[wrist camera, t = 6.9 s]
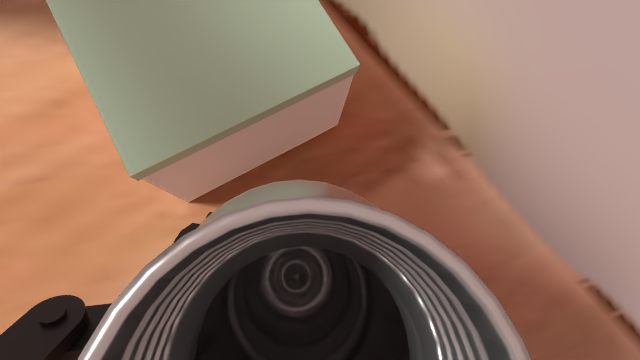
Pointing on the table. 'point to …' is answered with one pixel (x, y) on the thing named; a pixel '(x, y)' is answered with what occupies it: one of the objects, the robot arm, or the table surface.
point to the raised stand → (207, 82)
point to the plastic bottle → (305, 289)
